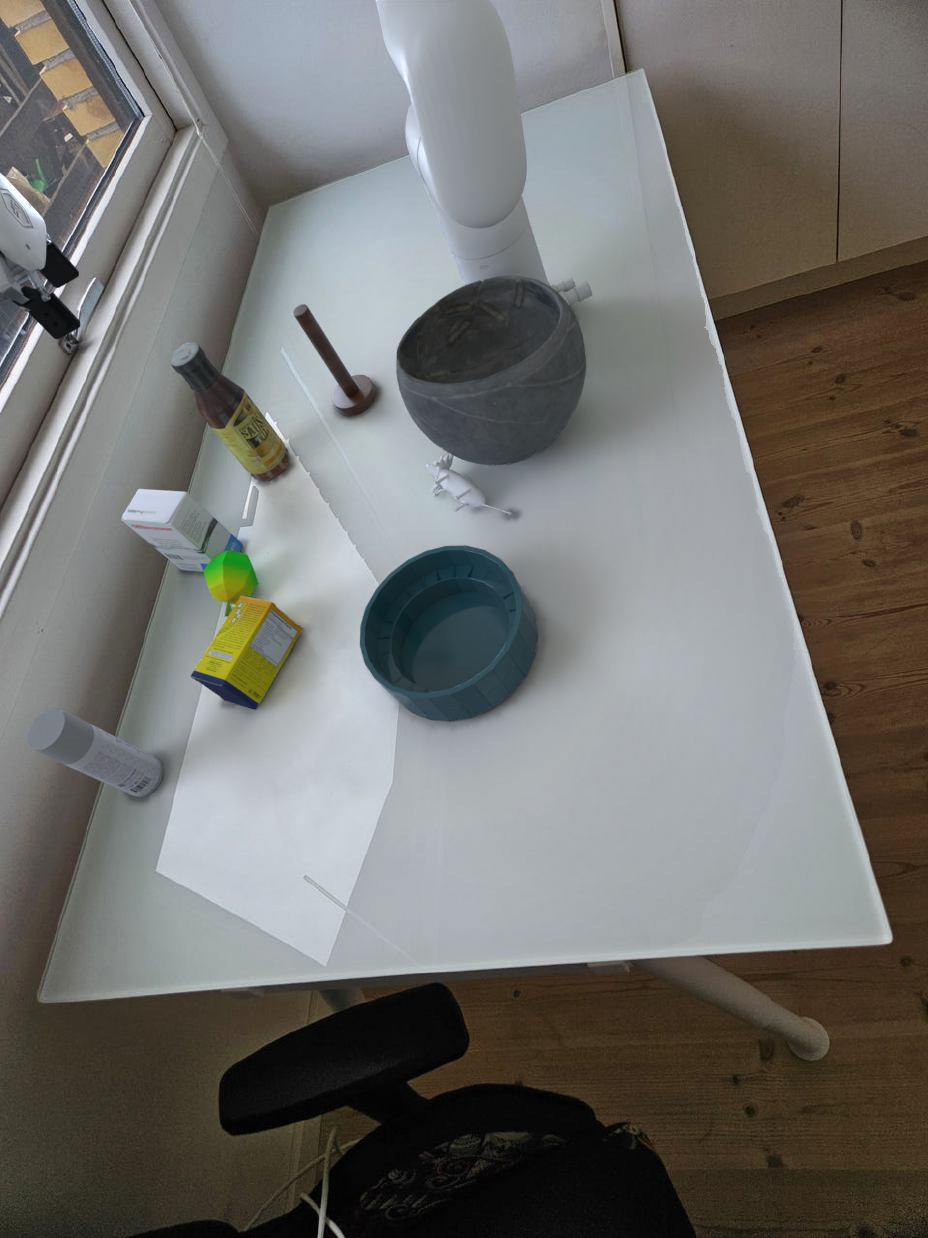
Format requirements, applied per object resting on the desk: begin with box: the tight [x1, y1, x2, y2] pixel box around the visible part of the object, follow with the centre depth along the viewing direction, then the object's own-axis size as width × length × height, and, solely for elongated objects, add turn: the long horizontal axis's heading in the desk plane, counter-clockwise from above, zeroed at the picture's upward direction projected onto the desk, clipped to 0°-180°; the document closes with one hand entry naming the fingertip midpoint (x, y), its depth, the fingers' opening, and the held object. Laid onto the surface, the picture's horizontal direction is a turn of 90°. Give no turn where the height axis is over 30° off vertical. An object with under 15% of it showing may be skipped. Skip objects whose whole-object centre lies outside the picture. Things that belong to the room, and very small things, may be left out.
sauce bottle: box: [169, 341, 290, 482], centre depth 103 cm, size 6×6×20 cm
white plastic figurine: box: [425, 451, 513, 516], centre depth 93 cm, size 12×5×5 cm
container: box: [27, 707, 164, 798], centre depth 86 cm, size 5×5×15 cm
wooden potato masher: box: [292, 303, 378, 417], centre depth 105 cm, size 6×6×16 cm
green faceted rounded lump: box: [202, 550, 260, 618], centre depth 97 cm, size 7×6×9 cm
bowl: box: [395, 275, 587, 466], centre depth 91 cm, size 21×21×15 cm
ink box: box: [120, 488, 243, 573], centre depth 101 cm, size 9×5×12 cm, turn 71°
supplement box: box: [190, 596, 304, 711], centre depth 91 cm, size 6×6×11 cm
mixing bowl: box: [359, 544, 539, 723], centre depth 83 cm, size 17×17×6 cm
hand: (68, 305), depth 86 cm, fingers open, 9 cm apart
